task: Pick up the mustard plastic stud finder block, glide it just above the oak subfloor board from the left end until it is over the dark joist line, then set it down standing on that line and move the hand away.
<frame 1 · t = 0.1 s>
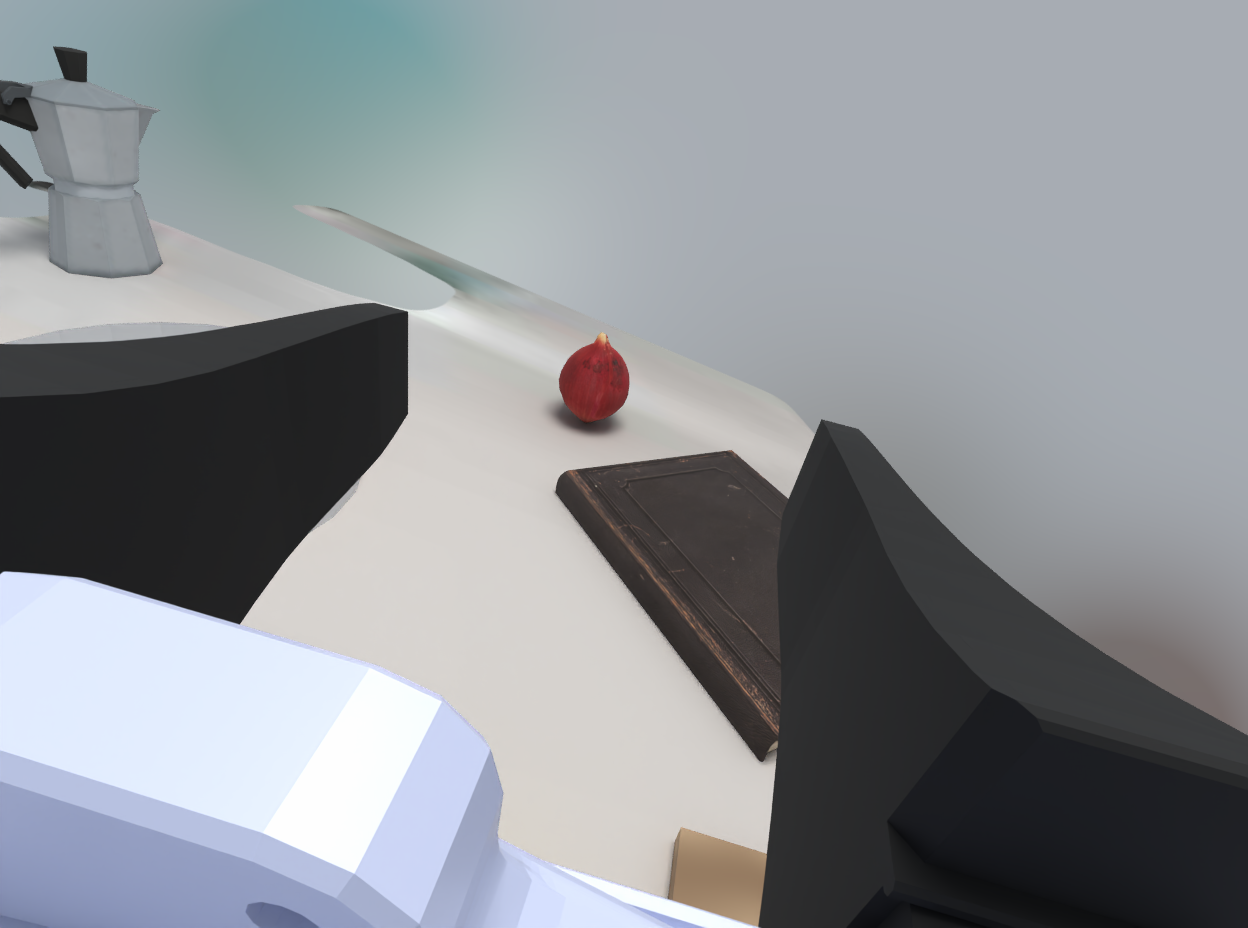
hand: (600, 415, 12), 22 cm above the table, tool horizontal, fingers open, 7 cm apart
hardcover book: (734, 583, 45), on the table
coffee maker: (95, 265, 64), on the table
onion: (586, 423, 58), on the table
dish: (175, 468, 42), on the table
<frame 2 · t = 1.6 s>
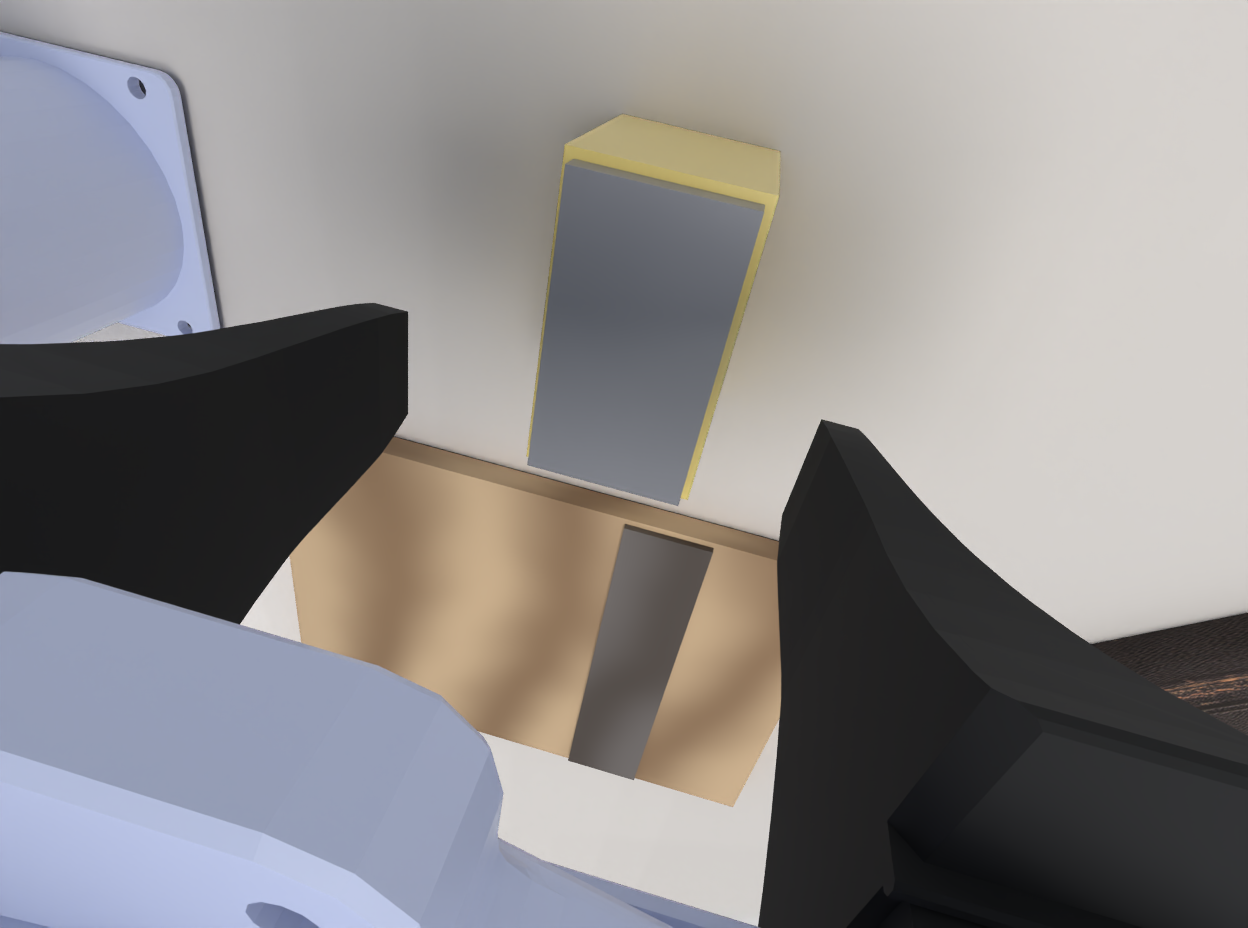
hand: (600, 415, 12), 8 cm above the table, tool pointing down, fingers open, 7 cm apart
stud finder: (669, 269, 19), on the table
subfloor board: (539, 620, 27), on the table
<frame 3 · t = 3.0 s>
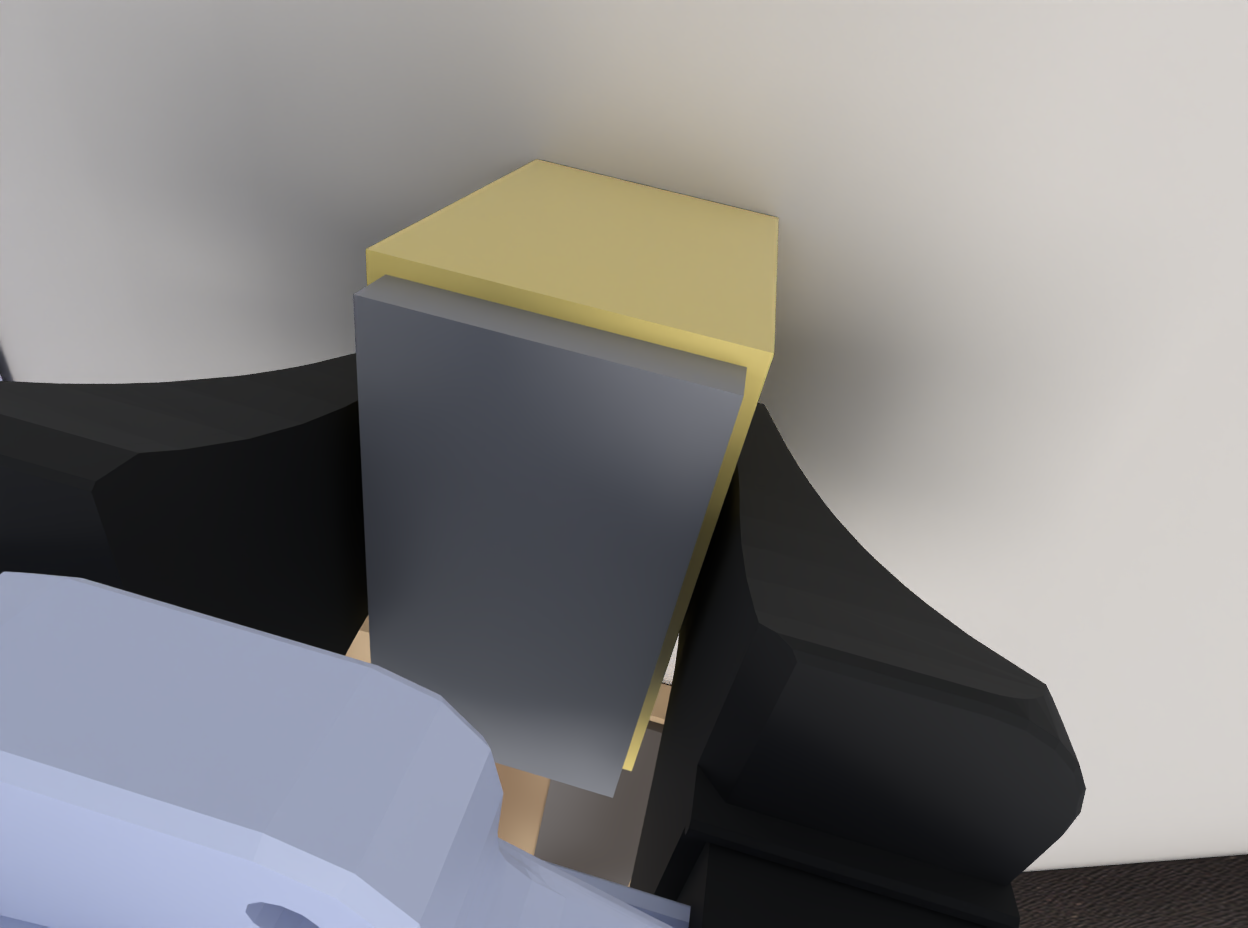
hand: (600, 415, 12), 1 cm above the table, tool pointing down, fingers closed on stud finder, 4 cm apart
stud finder: (617, 380, 13), on the table, touching gripper
subfloor board: (472, 780, 21), on the table
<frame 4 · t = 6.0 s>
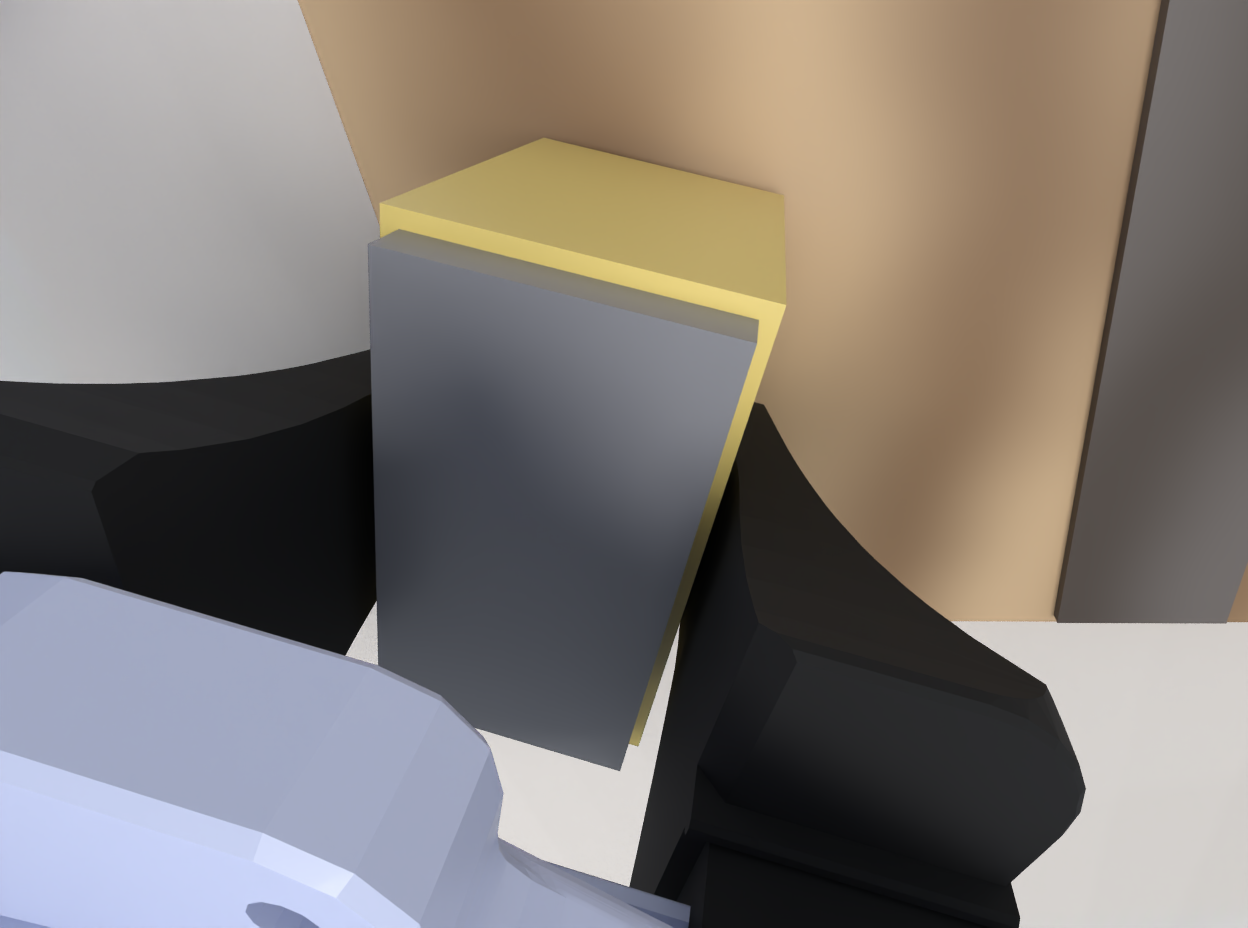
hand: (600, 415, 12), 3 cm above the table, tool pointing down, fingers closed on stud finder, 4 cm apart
stud finder: (622, 361, 13), point 2 cm above the table, touching gripper
subfloor board: (932, 311, 13), on the table
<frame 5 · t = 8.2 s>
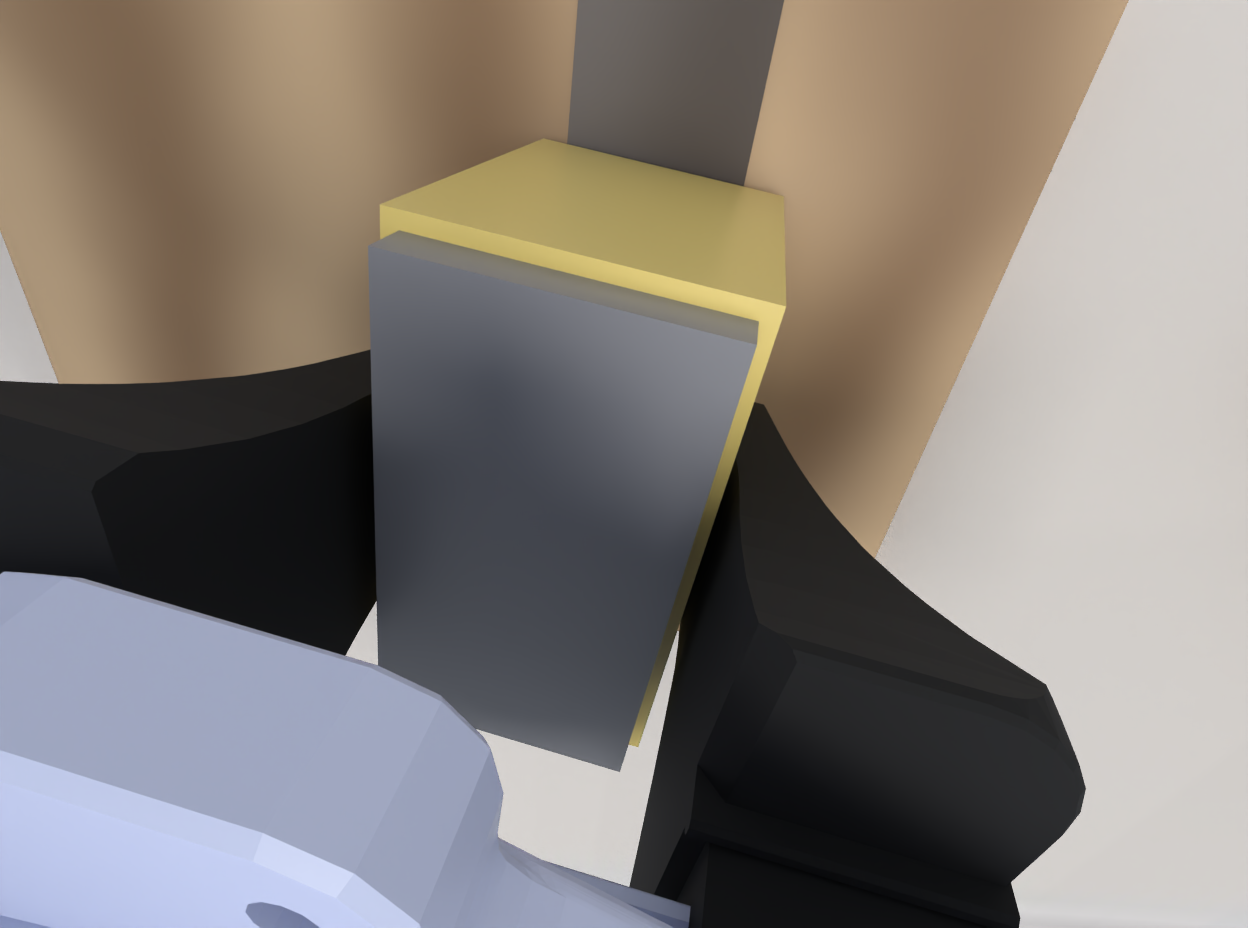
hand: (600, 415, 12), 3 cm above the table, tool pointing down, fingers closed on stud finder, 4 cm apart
stud finder: (622, 362, 13), point 2 cm above the table, touching gripper
subfloor board: (456, 307, 15), on the table
when the fingers open (3 cm above the table, at t = 9.5 s): stud finder stays where it is, resting on subfloor board.
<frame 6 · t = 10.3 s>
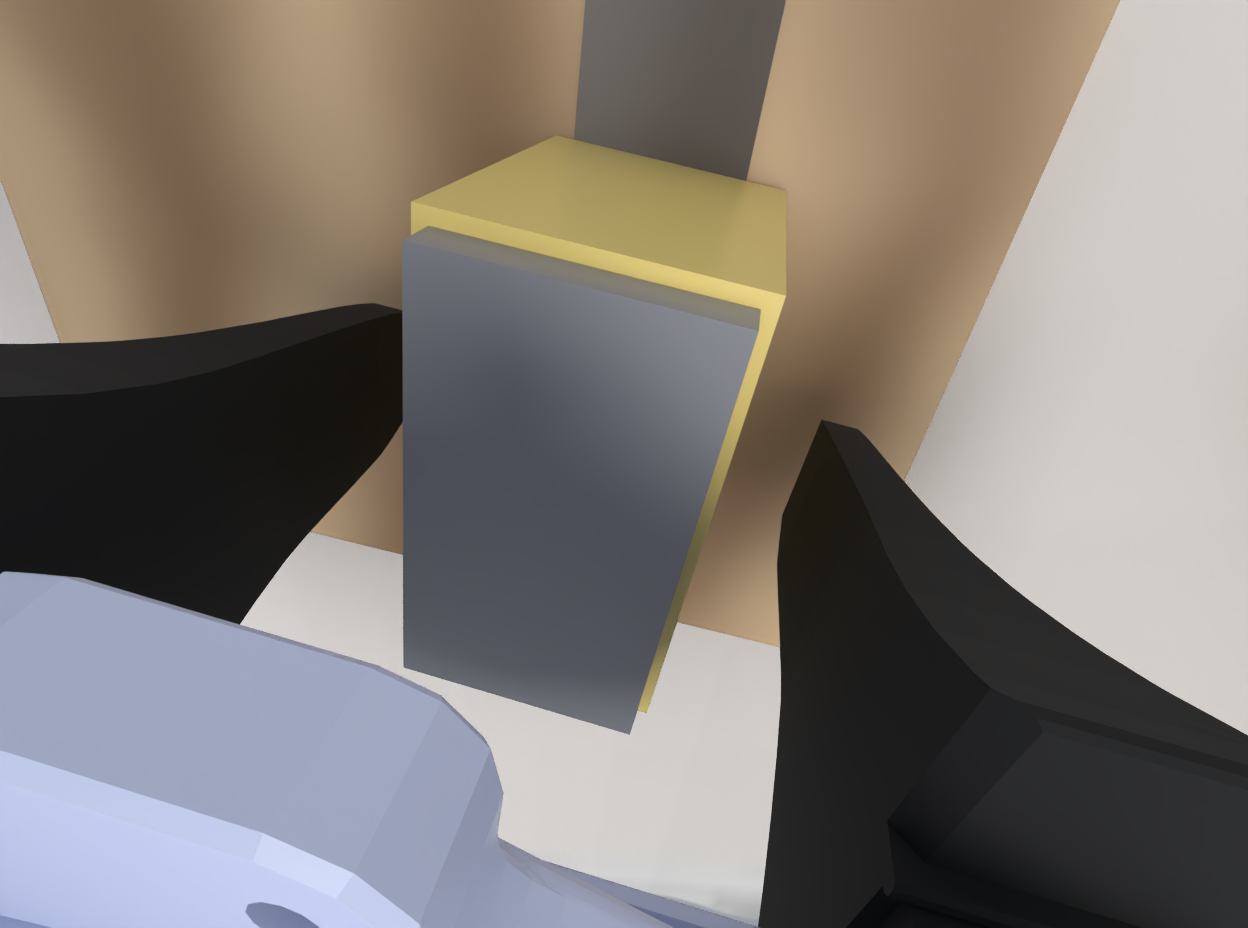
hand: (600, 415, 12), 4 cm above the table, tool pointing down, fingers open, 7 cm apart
stud finder: (631, 350, 13), point 1 cm above the table, touching subfloor board
subfloor board: (463, 303, 15), on the table
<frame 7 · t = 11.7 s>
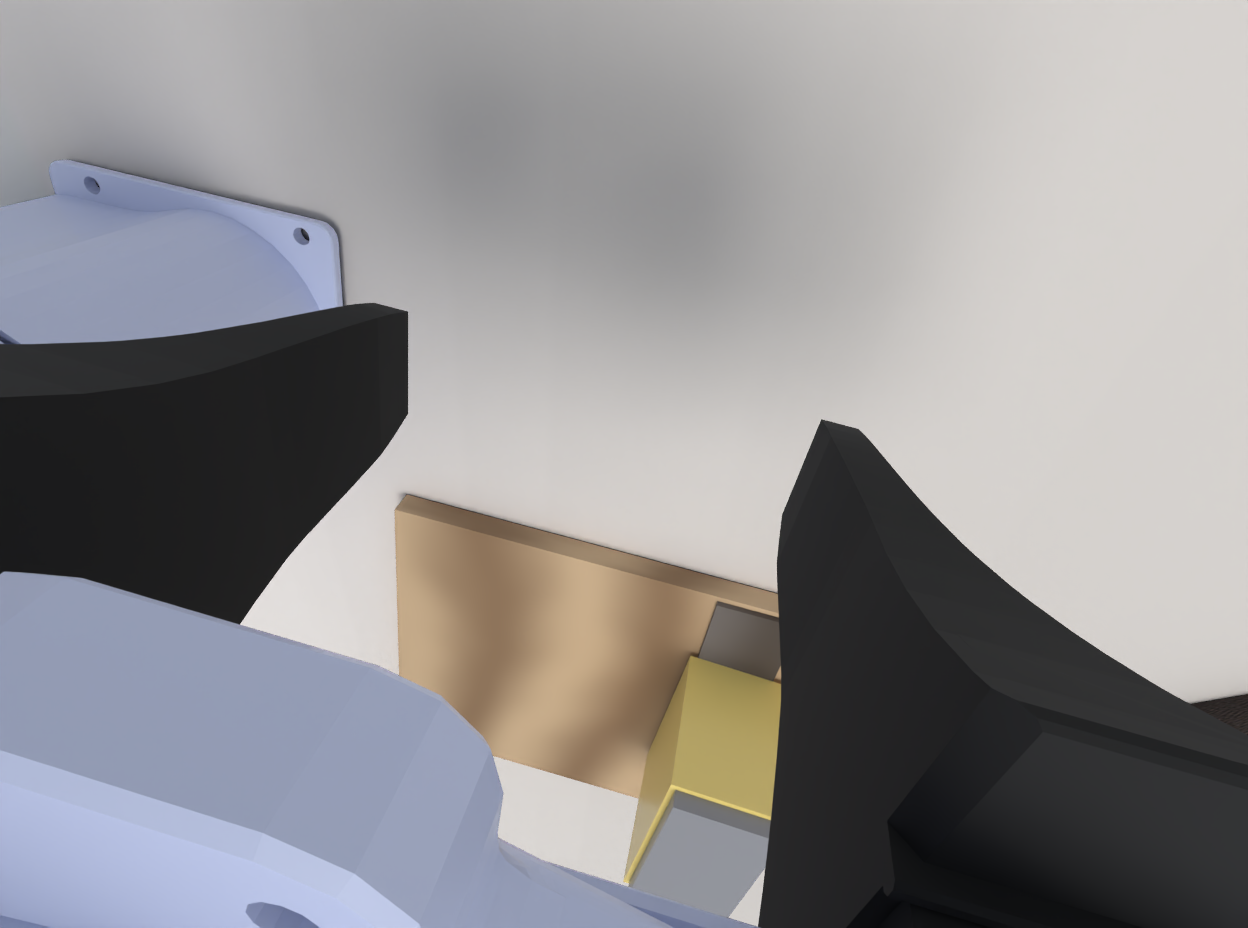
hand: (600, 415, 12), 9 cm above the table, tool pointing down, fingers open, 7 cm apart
stud finder: (713, 723, 28), point 1 cm above the table, touching subfloor board
subfloor board: (624, 678, 29), on the table
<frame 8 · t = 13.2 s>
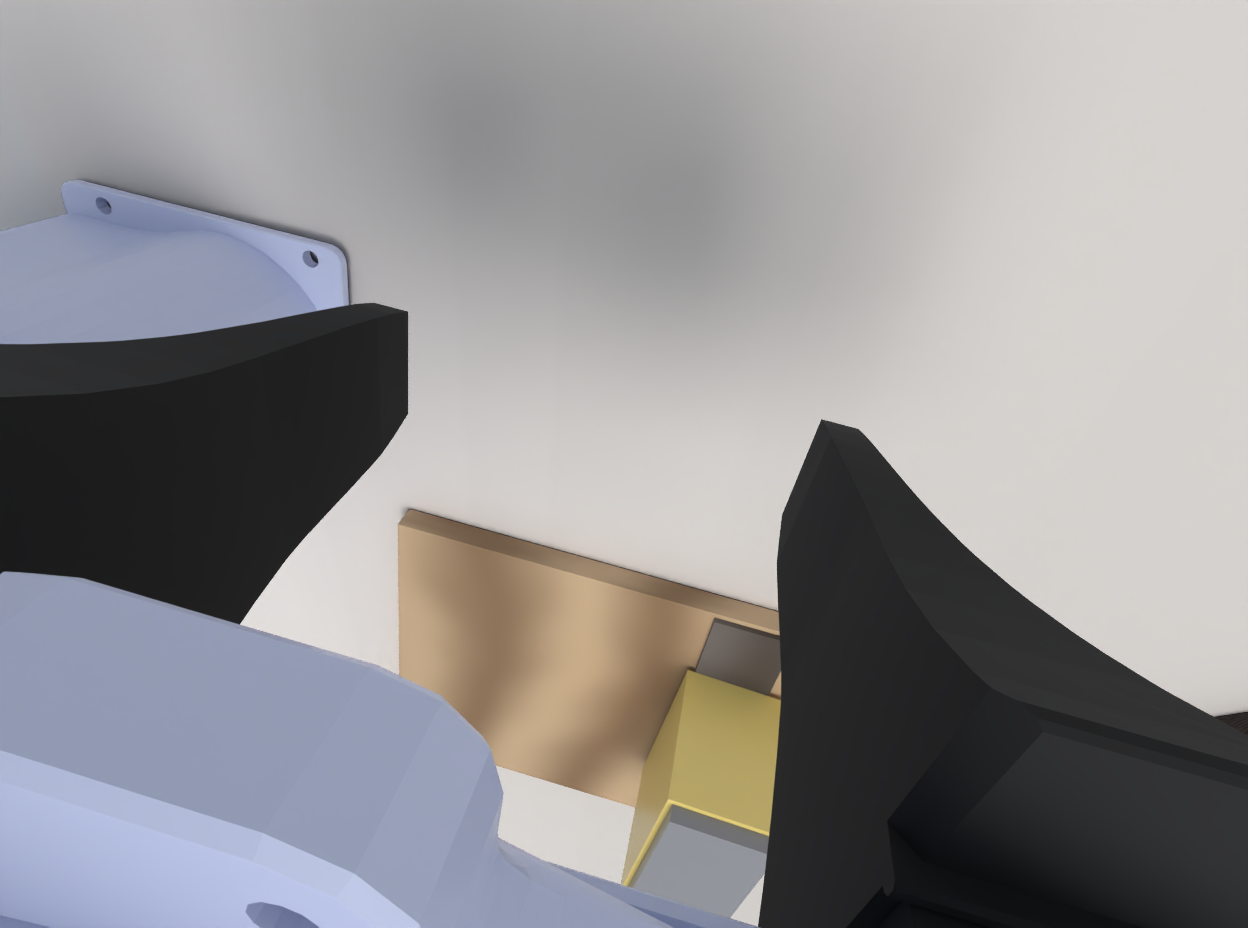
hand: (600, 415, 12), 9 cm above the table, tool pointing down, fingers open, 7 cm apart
stud finder: (709, 735, 28), point 1 cm above the table, touching subfloor board
subfloor board: (622, 689, 30), on the table
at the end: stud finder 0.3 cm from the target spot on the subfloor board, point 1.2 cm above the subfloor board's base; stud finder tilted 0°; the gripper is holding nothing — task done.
